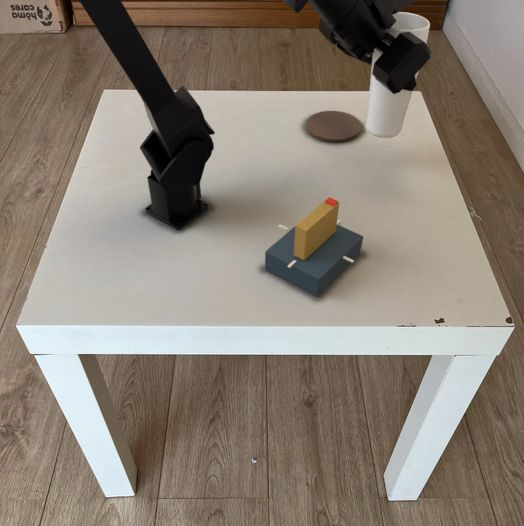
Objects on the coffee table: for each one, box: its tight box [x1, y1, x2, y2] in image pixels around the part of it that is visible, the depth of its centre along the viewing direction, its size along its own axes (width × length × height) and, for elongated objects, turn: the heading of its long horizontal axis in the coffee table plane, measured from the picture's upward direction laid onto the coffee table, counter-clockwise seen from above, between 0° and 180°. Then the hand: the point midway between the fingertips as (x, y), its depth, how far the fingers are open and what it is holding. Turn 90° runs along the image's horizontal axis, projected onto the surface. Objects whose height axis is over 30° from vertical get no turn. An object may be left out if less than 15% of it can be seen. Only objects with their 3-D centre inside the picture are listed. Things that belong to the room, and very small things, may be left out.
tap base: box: [264, 219, 364, 297], centre depth 74 cm, size 11×11×3 cm
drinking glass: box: [364, 11, 431, 139], centre depth 81 cm, size 7×7×15 cm
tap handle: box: [294, 196, 340, 260], centre depth 71 cm, size 7×2×5 cm, turn 142°
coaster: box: [305, 110, 362, 144], centre depth 96 cm, size 9×9×1 cm
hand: (400, 77), depth 81 cm, fingers closed on drinking glass, 6 cm apart
